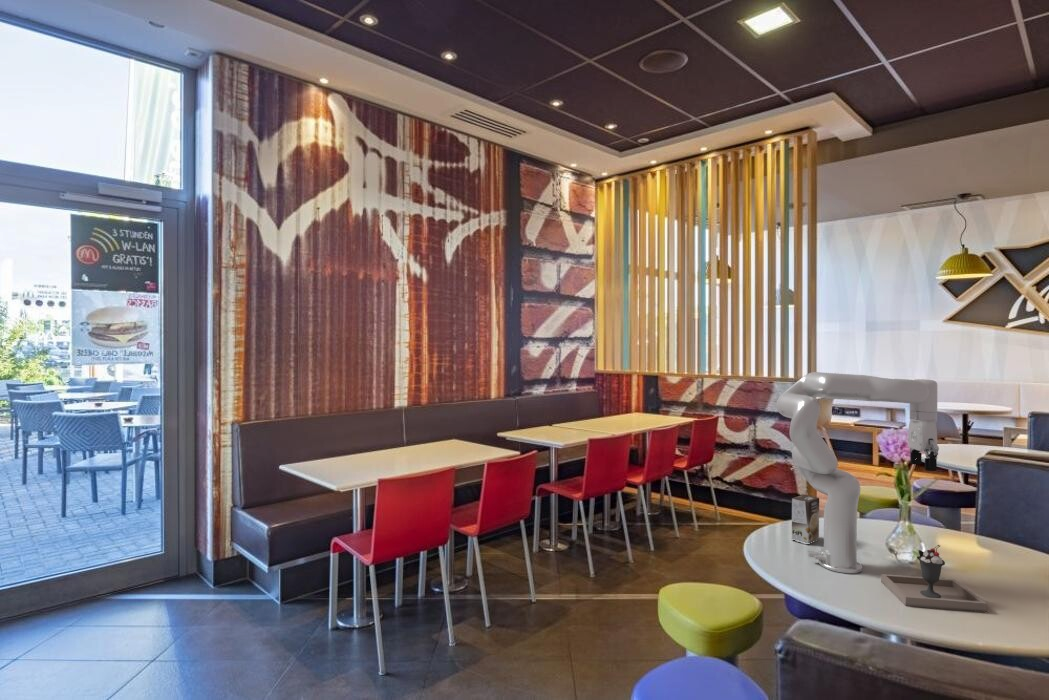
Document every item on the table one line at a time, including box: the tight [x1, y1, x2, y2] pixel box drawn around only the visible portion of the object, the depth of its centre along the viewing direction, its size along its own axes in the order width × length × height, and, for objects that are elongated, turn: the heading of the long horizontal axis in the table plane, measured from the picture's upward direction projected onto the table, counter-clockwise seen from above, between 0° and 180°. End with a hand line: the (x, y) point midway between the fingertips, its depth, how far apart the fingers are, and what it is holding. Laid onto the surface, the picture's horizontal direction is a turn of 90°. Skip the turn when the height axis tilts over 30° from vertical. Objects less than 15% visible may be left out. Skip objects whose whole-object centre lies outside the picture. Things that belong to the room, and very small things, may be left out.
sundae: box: [916, 544, 946, 598], centre depth 162 cm, size 7×7×15 cm
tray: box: [880, 573, 988, 613], centre depth 162 cm, size 20×16×2 cm
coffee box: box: [791, 494, 820, 544], centre depth 208 cm, size 9×6×16 cm
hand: (923, 467), depth 186 cm, fingers open, 9 cm apart
